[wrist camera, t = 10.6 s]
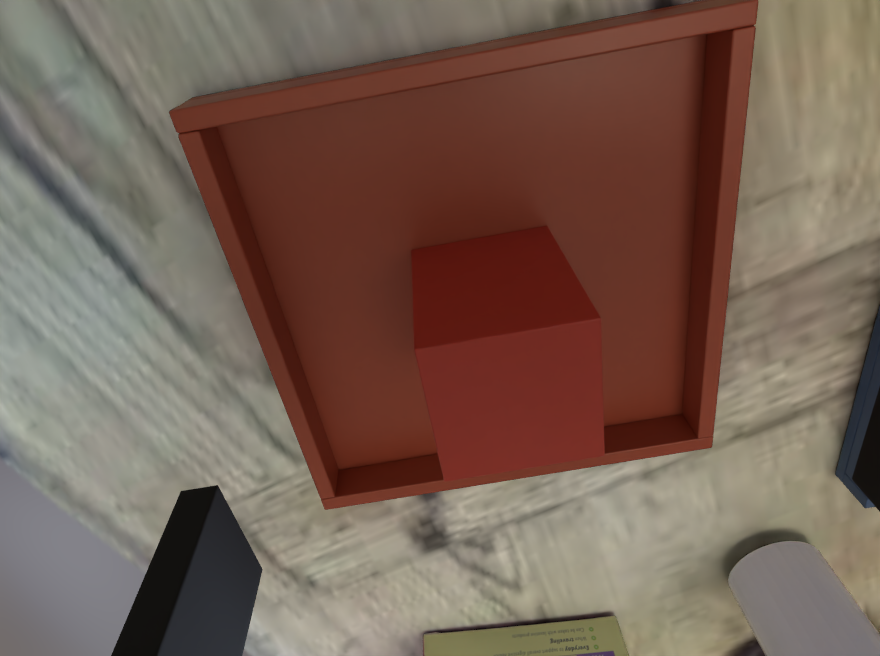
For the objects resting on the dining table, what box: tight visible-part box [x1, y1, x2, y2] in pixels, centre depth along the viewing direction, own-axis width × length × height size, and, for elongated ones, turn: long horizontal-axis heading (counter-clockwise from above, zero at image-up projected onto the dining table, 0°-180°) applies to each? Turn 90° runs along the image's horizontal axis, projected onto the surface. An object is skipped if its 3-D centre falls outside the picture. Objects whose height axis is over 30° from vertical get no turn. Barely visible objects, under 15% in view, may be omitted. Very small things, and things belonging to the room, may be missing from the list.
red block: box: [411, 226, 605, 482], centre depth 17 cm, size 4×4×6 cm
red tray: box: [169, 0, 758, 510], centre depth 19 cm, size 15×15×2 cm
